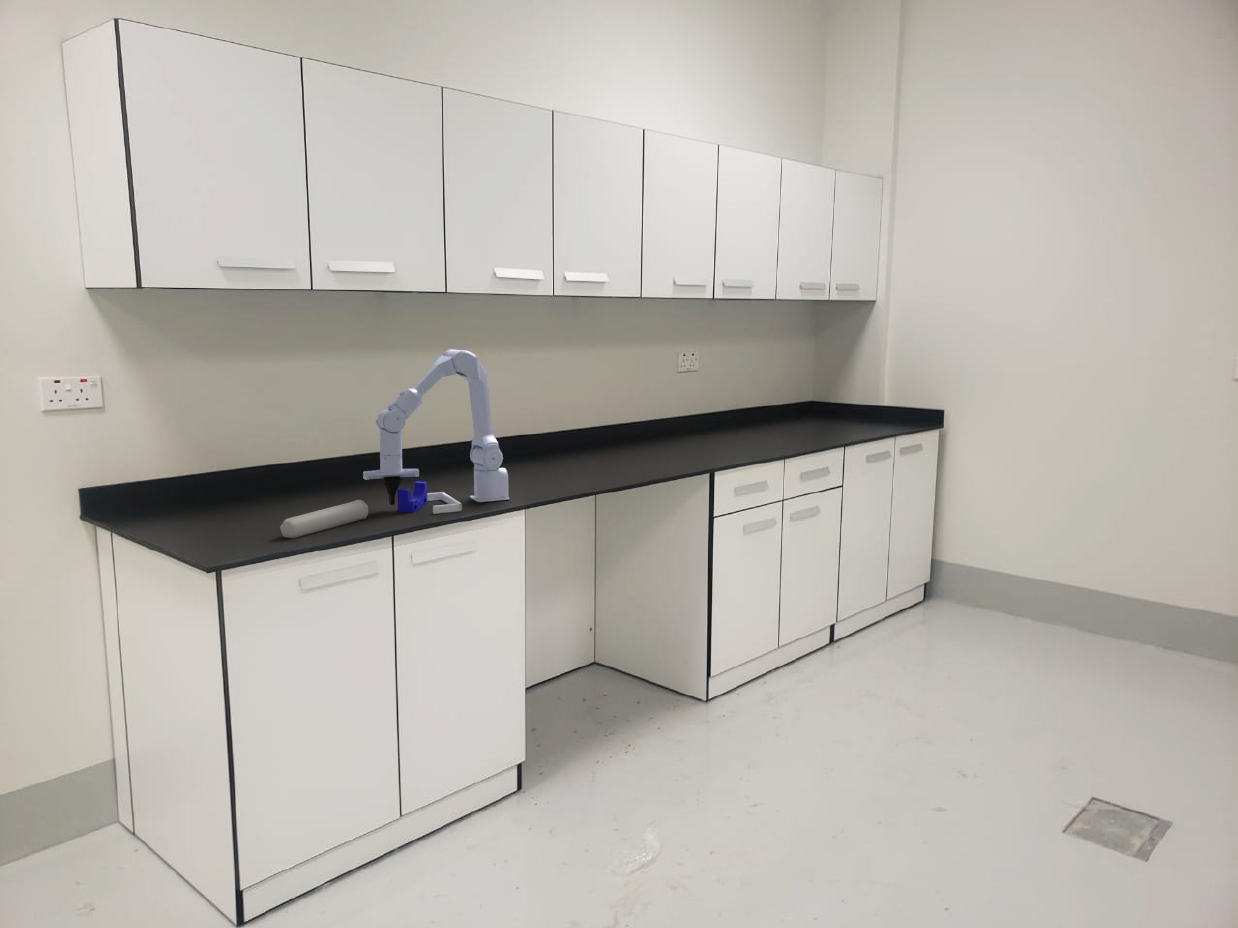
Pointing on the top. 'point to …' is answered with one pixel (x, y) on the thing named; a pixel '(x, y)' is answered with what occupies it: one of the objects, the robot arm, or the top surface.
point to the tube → (324, 519)
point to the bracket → (451, 502)
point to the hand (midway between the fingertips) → (392, 504)
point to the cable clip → (412, 498)
